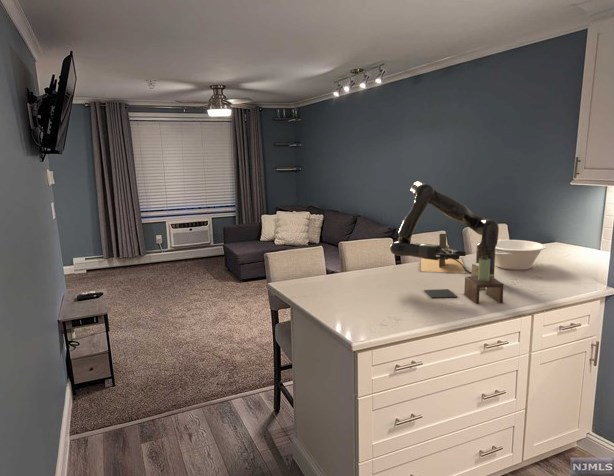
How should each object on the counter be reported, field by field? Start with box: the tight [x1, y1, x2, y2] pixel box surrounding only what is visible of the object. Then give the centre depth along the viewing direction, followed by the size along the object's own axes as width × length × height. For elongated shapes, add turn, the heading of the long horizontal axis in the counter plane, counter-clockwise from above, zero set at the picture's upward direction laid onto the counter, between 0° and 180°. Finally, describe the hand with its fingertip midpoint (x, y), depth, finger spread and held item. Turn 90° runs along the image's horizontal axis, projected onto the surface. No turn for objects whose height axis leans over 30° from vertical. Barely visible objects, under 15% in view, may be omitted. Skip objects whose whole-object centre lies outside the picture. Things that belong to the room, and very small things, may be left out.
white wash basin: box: [495, 239, 547, 271], centre depth 255 cm, size 44×34×14 cm
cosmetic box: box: [470, 262, 486, 291], centre depth 215 cm, size 6×4×12 cm
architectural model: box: [420, 230, 467, 274], centre depth 265 cm, size 38×25×20 cm, turn 165°
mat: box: [424, 288, 458, 299], centre depth 208 cm, size 12×12×1 cm
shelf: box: [463, 275, 505, 305], centre depth 199 cm, size 14×12×9 cm
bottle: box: [478, 254, 490, 282], centre depth 197 cm, size 5×5×12 cm
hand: (462, 255), depth 202 cm, fingers open, 8 cm apart
